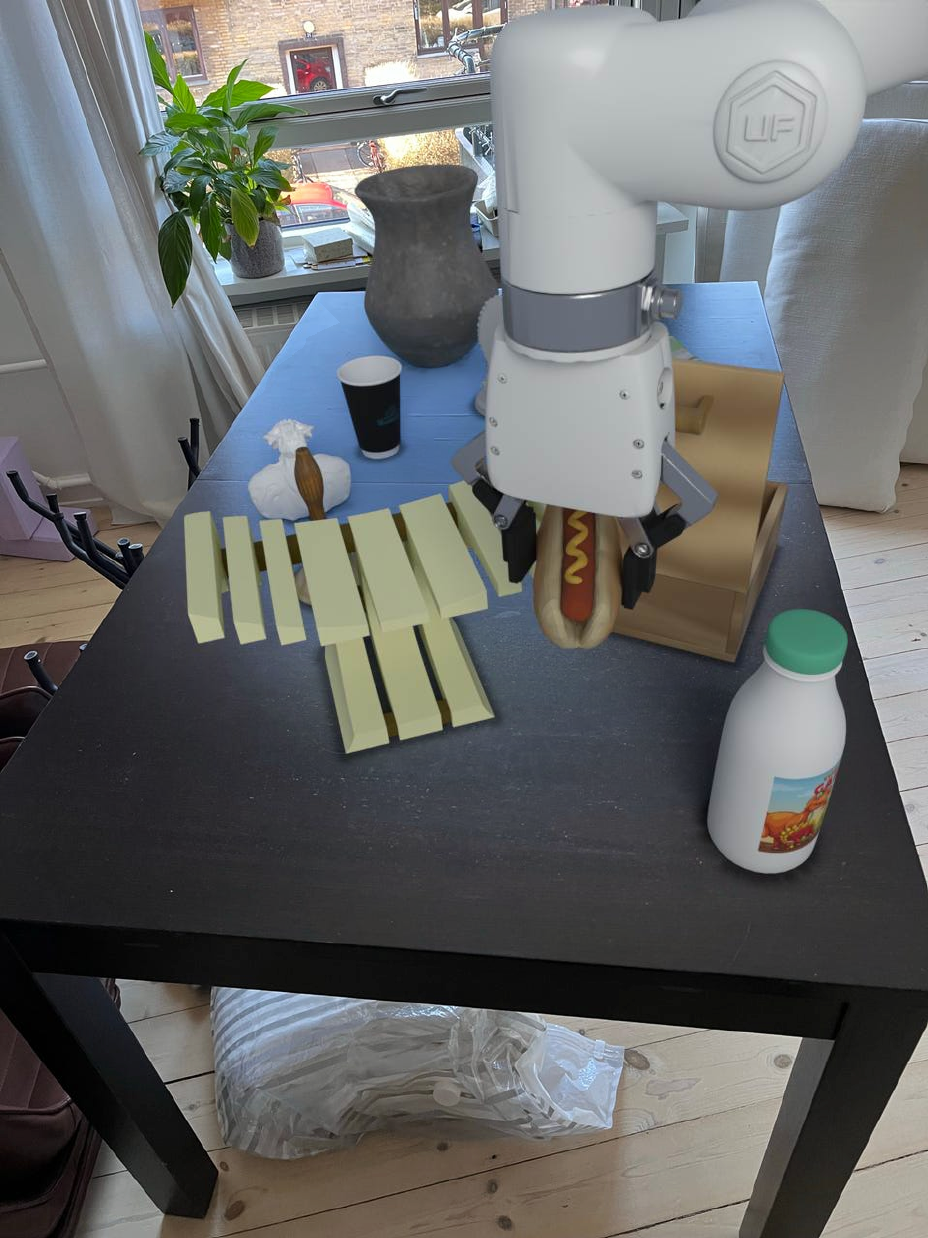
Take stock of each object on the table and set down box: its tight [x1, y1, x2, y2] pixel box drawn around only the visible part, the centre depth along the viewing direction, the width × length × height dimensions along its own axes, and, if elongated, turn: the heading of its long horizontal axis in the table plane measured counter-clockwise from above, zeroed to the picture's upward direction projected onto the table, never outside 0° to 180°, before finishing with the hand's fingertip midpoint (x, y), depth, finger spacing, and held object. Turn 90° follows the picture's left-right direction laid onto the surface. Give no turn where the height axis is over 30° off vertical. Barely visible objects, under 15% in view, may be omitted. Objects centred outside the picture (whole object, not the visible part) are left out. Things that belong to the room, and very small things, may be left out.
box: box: [611, 479, 790, 664], centre depth 86 cm, size 19×15×8 cm
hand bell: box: [294, 446, 360, 607], centre depth 88 cm, size 8×8×16 cm
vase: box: [354, 163, 500, 368], centre depth 126 cm, size 20×19×25 cm
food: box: [532, 504, 623, 650], centre depth 55 cm, size 14×6×5 cm, turn 174°
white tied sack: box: [246, 418, 352, 521], centre depth 102 cm, size 12×8×11 cm
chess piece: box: [474, 294, 503, 417], centre depth 116 cm, size 10×10×15 cm
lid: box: [614, 358, 786, 593], centre depth 69 cm, size 20×15×5 cm
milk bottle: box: [706, 608, 848, 874], centre depth 59 cm, size 8×8×20 cm
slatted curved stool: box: [183, 479, 547, 754], centre depth 76 cm, size 30×16×18 cm, turn 105°
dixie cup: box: [336, 355, 403, 460], centre depth 110 cm, size 8×8×11 cm
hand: (577, 581), depth 56 cm, fingers closed on food, 6 cm apart
